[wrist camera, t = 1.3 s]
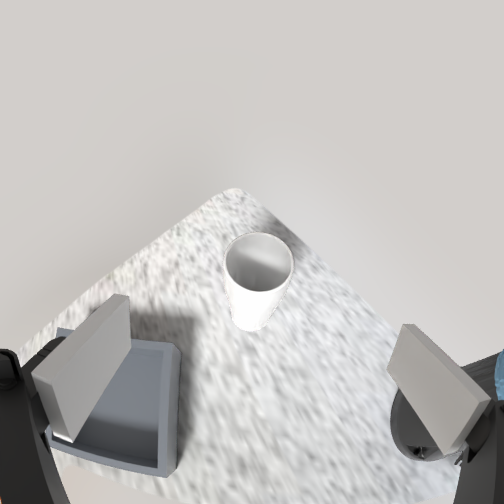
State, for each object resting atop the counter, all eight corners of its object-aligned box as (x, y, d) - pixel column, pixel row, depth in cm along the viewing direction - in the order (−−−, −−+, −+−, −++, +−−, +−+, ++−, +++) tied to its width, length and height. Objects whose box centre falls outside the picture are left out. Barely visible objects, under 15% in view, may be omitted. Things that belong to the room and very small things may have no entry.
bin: (181, 353, 36) (172, 342, 31) (176, 468, 28) (166, 477, 23) (78, 339, 36) (57, 327, 31) (68, 443, 27) (45, 444, 22)
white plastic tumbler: (280, 298, 41) (301, 240, 28) (268, 343, 38) (286, 304, 25) (234, 286, 42) (234, 223, 29) (219, 329, 38) (211, 282, 26)
